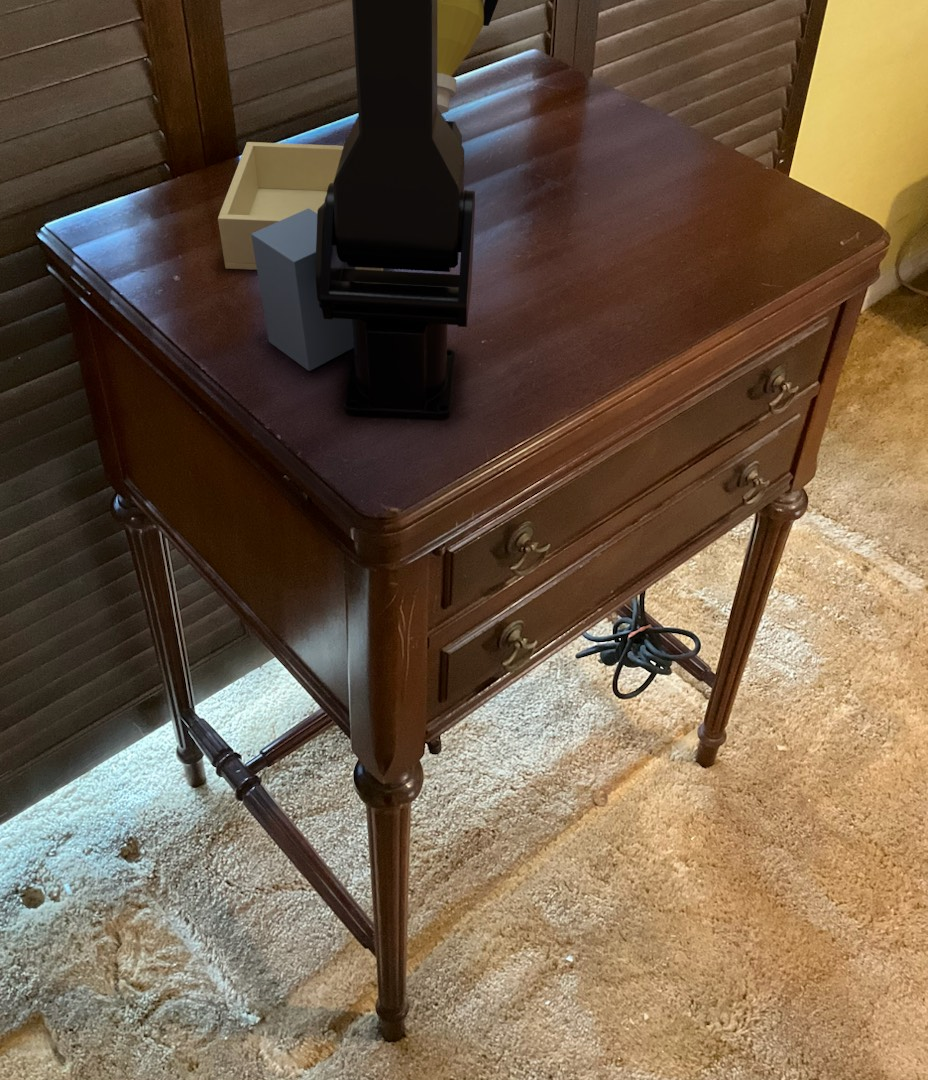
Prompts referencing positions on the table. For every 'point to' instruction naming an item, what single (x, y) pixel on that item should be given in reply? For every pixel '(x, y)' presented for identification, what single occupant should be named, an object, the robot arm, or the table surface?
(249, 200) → the cream bin
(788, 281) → the table surface
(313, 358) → the blue block
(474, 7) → the light bulb
